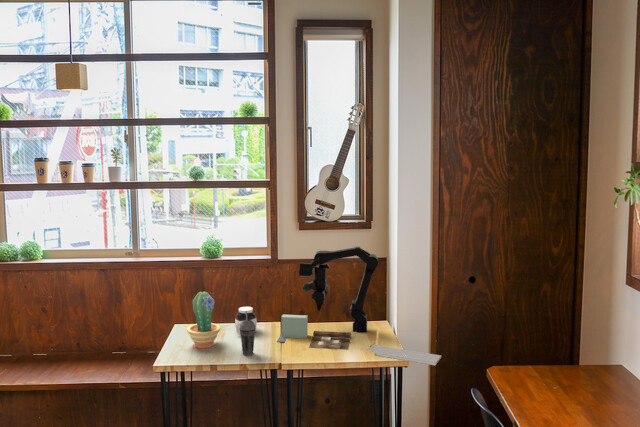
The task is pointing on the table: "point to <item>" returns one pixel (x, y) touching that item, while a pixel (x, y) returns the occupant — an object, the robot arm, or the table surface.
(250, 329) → the beverage cup
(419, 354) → the baseboard molding
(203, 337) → the potted cactus
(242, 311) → the spread jar
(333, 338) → the board rack
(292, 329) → the tall board
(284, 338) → the rubber mat
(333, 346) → the offcut stack
